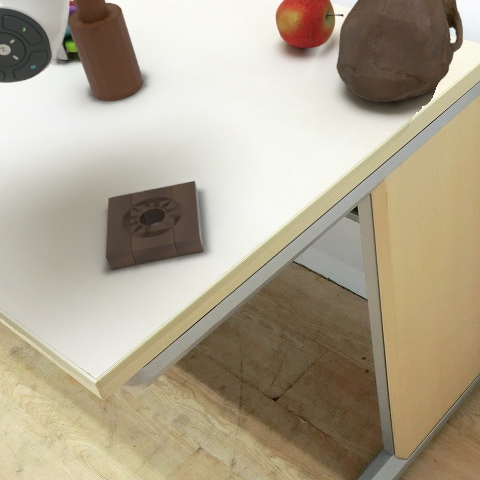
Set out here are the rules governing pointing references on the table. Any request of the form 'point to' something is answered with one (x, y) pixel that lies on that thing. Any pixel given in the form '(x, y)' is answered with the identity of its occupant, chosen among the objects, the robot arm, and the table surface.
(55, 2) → the robot arm
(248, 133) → the table surface
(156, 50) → the table surface
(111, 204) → the dark brown square mat
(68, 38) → the rainbow disc toy
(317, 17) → the apple
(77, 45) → the bottle
